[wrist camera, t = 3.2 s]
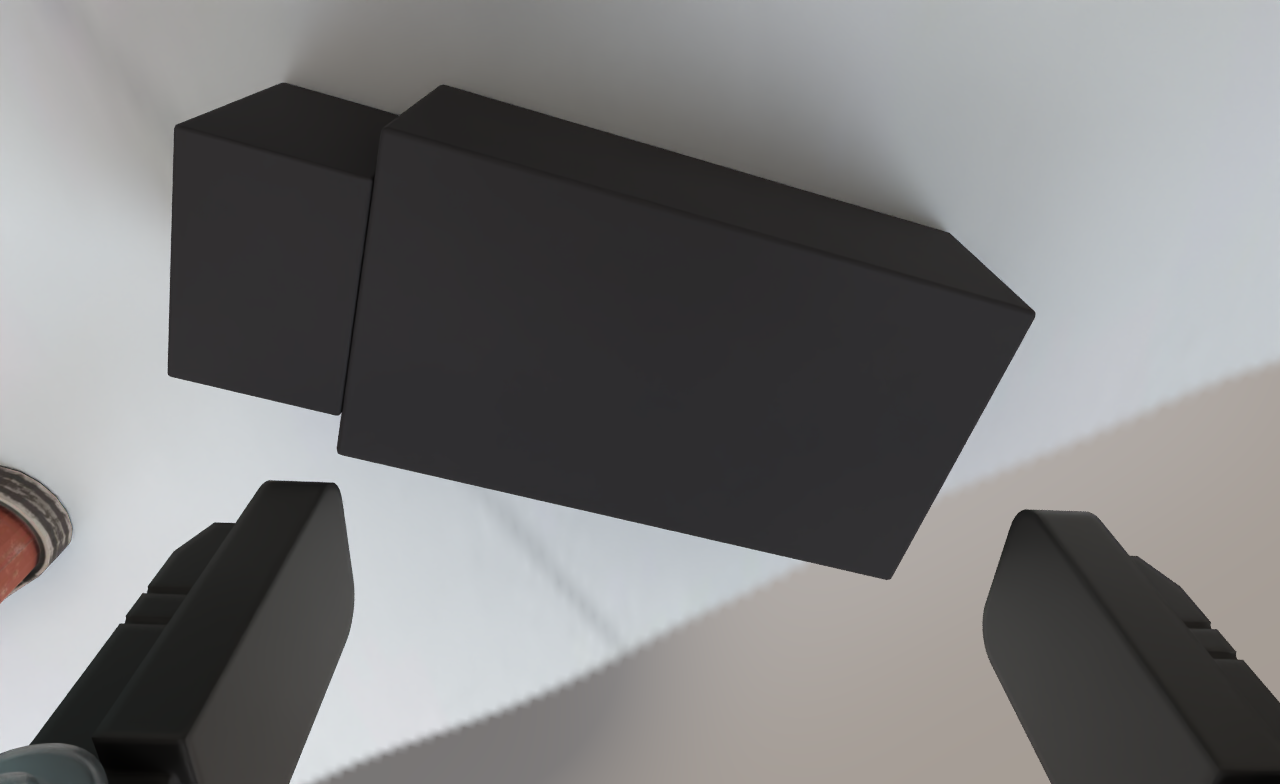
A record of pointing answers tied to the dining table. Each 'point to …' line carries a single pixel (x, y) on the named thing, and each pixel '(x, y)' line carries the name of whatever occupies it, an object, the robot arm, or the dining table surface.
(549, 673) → the dining table surface
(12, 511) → the lighter
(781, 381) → the pad
